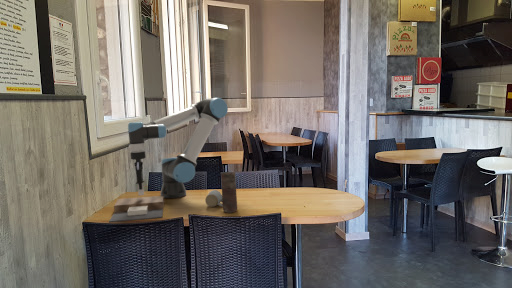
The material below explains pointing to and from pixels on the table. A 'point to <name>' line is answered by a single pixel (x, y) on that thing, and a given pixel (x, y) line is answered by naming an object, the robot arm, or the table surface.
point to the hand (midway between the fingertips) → (141, 194)
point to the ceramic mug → (214, 199)
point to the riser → (139, 203)
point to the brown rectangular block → (229, 192)
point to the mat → (136, 216)
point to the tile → (137, 210)
